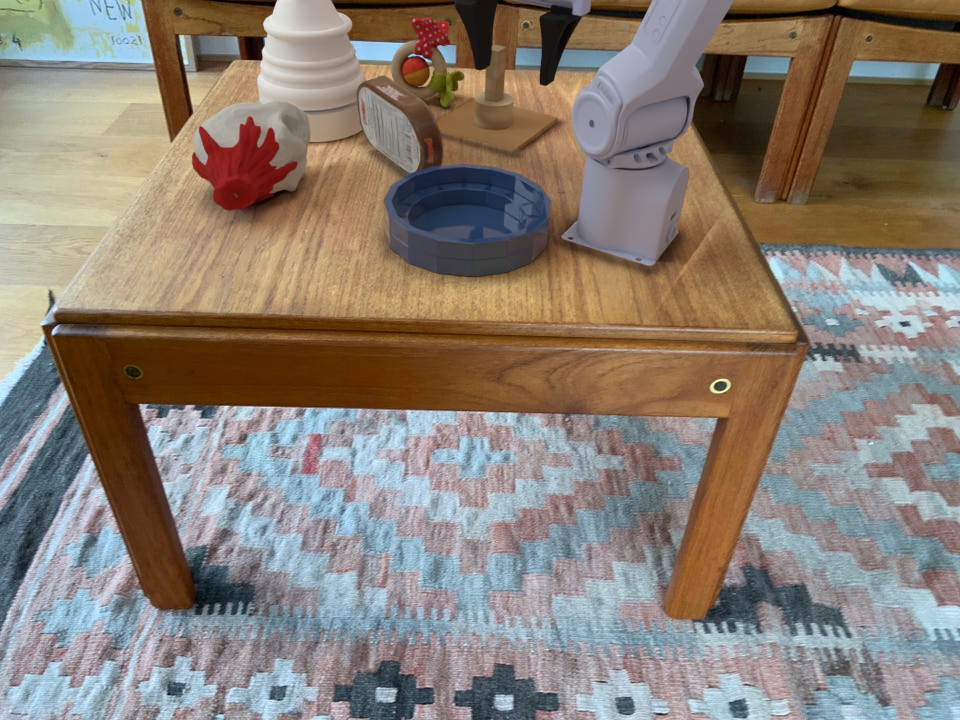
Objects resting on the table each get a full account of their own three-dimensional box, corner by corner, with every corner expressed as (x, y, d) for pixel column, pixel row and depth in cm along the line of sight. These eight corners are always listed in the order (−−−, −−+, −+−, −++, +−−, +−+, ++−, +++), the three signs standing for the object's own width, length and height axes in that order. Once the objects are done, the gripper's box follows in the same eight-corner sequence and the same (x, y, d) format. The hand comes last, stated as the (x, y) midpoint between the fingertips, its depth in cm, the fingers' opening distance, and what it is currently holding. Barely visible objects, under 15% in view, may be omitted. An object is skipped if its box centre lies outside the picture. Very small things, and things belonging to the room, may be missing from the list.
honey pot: (370, 140, 93) (361, -24, 81) (259, 143, 91) (234, -24, 80) (366, 100, 103) (357, -52, 91) (265, 102, 101) (244, -53, 89)
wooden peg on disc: (519, 120, 98) (524, 46, 92) (500, 133, 94) (504, 57, 89) (485, 111, 100) (488, 38, 94) (466, 124, 96) (468, 49, 91)
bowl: (572, 226, 79) (577, 189, 76) (498, 300, 68) (500, 261, 66) (441, 186, 84) (441, 151, 82) (353, 249, 74) (350, 211, 71)
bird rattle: (408, 126, 102) (472, 101, 99) (369, 44, 95) (437, 15, 93) (412, 108, 107) (474, 84, 104) (376, 29, 100) (441, 1, 98)
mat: (557, 122, 99) (557, 117, 99) (513, 155, 91) (513, 150, 91) (475, 101, 104) (475, 96, 103) (426, 131, 96) (426, 126, 95)
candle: (315, 158, 87) (303, 241, 77) (212, 156, 86) (185, 241, 76) (307, 81, 81) (292, 161, 71) (195, 79, 80) (163, 160, 70)
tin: (445, 185, 85) (446, 109, 79) (420, 192, 83) (419, 115, 78) (378, 135, 94) (374, 64, 89) (354, 141, 93) (349, 69, 87)
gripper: (611, -67, 74) (592, 78, 82) (478, -87, 79) (473, 51, 88) (580, -54, 69) (564, 98, 77) (440, -76, 74) (440, 69, 83)
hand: (514, 75), depth 82 cm, fingers open, 7 cm apart
